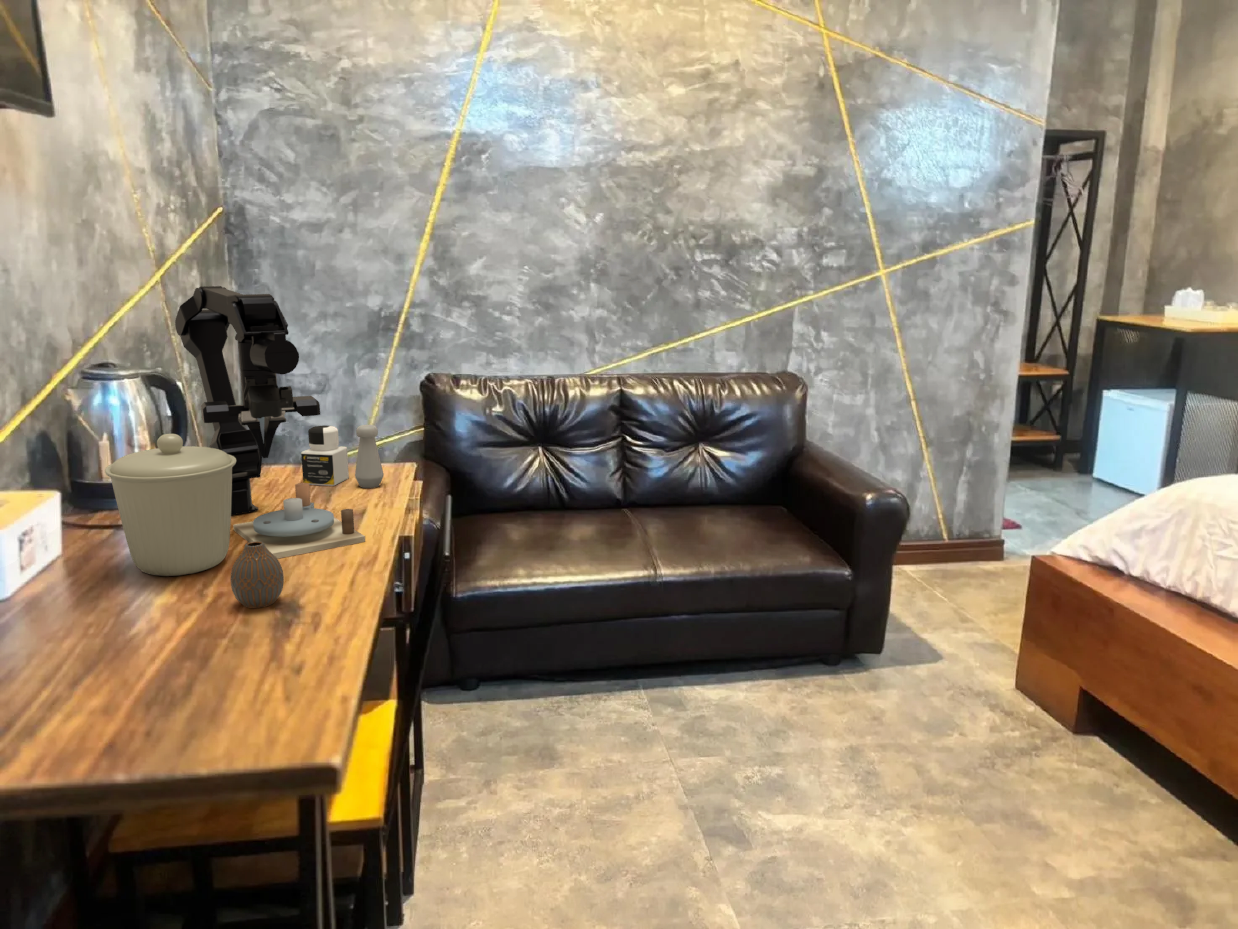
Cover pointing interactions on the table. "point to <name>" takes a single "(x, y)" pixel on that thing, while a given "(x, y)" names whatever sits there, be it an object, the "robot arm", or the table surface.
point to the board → (306, 537)
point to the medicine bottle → (324, 458)
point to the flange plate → (294, 525)
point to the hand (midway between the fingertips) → (265, 457)
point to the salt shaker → (368, 458)
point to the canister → (174, 506)
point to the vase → (256, 576)
